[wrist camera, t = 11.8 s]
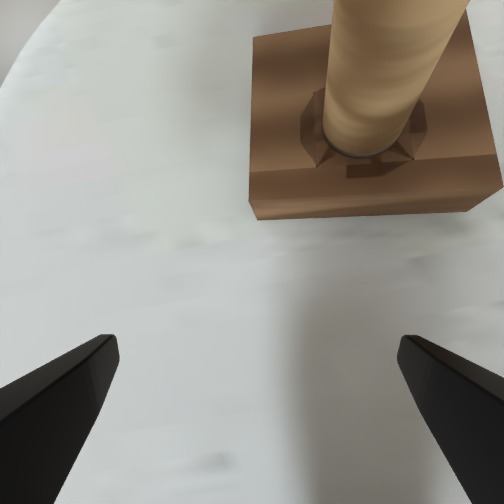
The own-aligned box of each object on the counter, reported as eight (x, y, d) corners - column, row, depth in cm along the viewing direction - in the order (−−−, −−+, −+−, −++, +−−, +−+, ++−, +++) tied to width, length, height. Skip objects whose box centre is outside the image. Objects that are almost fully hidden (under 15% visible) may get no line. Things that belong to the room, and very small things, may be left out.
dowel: (396, 140, 23) (505, -69, 11) (368, 195, 22) (450, 39, 10) (335, 120, 25) (368, -84, 12) (307, 171, 24) (312, 10, 11)
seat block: (466, 211, 21) (503, 187, 17) (257, 220, 24) (248, 200, 20) (439, 52, 24) (464, 2, 21) (260, 76, 27) (253, 37, 23)
